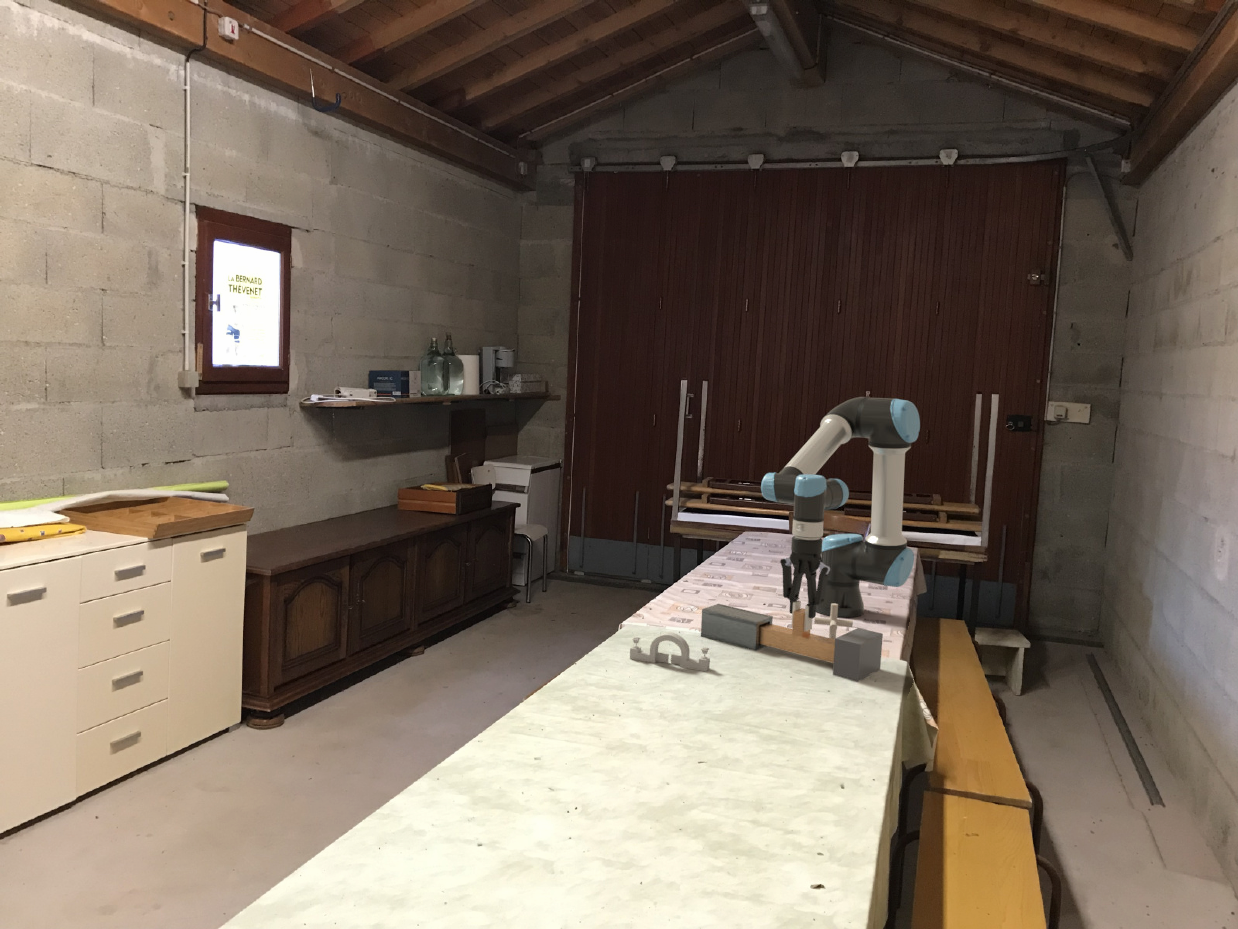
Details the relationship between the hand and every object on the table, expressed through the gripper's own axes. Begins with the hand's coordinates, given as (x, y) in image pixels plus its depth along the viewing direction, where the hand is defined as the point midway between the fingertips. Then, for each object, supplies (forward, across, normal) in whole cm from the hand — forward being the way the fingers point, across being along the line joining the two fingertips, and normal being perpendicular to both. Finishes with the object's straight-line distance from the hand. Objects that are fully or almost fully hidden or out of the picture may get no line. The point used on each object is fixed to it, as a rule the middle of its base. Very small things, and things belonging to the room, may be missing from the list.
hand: (801, 628), depth 241 cm
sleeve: (+8, -19, 0) cm, 21 cm away
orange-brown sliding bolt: (+6, -2, 0) cm, 7 cm away
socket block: (+8, +16, 0) cm, 17 cm away
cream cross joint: (+8, -1, +19) cm, 21 cm away
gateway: (+8, -20, -28) cm, 35 cm away
